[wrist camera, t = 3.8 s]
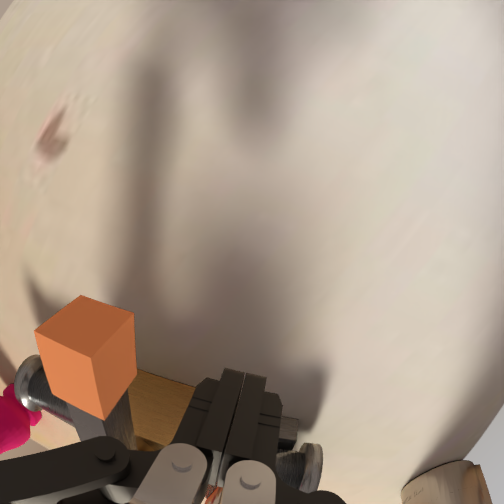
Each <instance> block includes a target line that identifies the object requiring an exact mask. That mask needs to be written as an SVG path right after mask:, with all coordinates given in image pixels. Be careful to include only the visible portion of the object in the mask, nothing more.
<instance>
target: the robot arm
mask: <svg viewBox="0 0 504 504" xmlns="http://www.w3.org/2000/svg"><path fill="white" fill-rule="evenodd" d="M244 374H245V372H240V371H236V370H232V369H228V368H225V369H224V371H223V374H222V376H221V379H220V381H217V380H214V379H210V378H206V379H205V380H203V381H202V382H201V383H200V384H198V385H197V387H196V389H195V391H194V393H193V396H192V399H191V400H190V402H189V405H188V407H187V409H186V411H185V413H184V416H183V418H182V420H181V422H180V425H179V427H178V429H177V431H176V434H175V436H174V438H173V440H172V441H171V443H170V444H169V445H167V446H166V447H164V448H162V449H160V450H156V451H137V450H128V449H127V447H126V446H125V445H124V444H123V443H122V442H121V441H119V440H118V439H116V438H113V437H110V436H98V437H94V438H91V439H88V440H84V441H81V442H78V443H74V444H71V445H67V446H64V447H60V448H56V449H52V450H49V451H45V452H40V453H36V454H32V455H27V456H23V457H18V458H13V459H8V460H3V461H0V504H201V502H202V501H203V499H204V497H205V493H206V490H207V487H208V484H209V485H213V486H215V483H216V480H217V477H218V473H219V470H220V466H221V463H222V466H221V470H220V475H219V479H218V483H217V486H218V487H222V492H221V495H220V499H219V503H218V504H346V503H345V502H344V501H343V500H342V499H341V498H340V497H339V496H338V495H336V494H334V493H332V492H329V491H323V490H319V491H314V492H311V493H305V492H303V491H300V490H298V489H296V488H293V487H291V486H289V485H287V484H286V483H285V482H284V481H282V480H281V478H280V477H279V476H278V474H277V471H276V467H275V463H276V455H277V448H278V440H279V432H280V424H281V415H282V407H283V405H282V403H281V400H280V398H279V395H278V394H275V393H270V392H265V391H264V389H265V383H266V377H263V376H258V375H254V374H249V373H246V377H245V380H244V384H243V388H242V383H243V379H244ZM241 388H242V392H241ZM240 392H241V395H240ZM239 397H240V399H239ZM238 401H239V403H238ZM237 405H238V406H237ZM236 409H237V410H236ZM235 413H236V414H235ZM233 420H234V421H233ZM230 431H231V432H230ZM228 438H229V439H228ZM226 445H227V446H226ZM224 452H225V453H224ZM223 456H224V457H223ZM222 459H223V462H222ZM401 499H402V504H492V501H491V497H490V494H489V491H488V488H487V485H486V481H485V478H484V476H483V473H482V470H481V467H480V465H474V464H473V463H472V462H471V461H467V460H462V461H456V462H451V463H448V464H445V465H442V466H439V467H437V468H434V469H432V470H430V471H428V472H426V473H424V474H422V475H420V476H419V477H417V478H416V479H414V480H413V481H411V482H410V483H409V484H407V485H406V486H405V487H404V489H403V490H402V492H401Z"/></svg>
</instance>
